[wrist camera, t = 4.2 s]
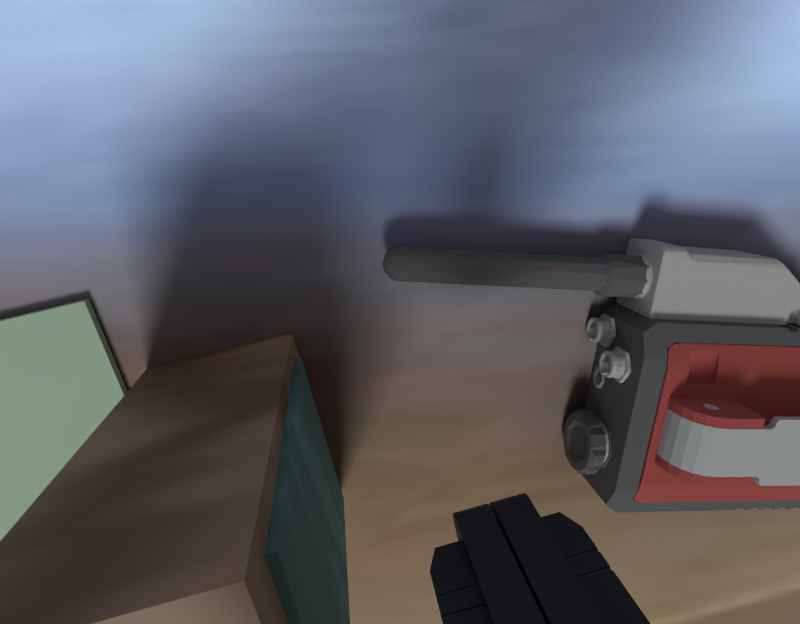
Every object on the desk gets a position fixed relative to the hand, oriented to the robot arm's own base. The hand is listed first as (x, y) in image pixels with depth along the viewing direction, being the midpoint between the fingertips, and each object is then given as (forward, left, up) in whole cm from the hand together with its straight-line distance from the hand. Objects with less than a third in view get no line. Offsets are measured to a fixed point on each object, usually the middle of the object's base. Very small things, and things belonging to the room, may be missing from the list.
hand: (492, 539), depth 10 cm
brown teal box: (+6, 0, -7) cm, 9 cm away
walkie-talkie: (-8, +1, -8) cm, 11 cm away
